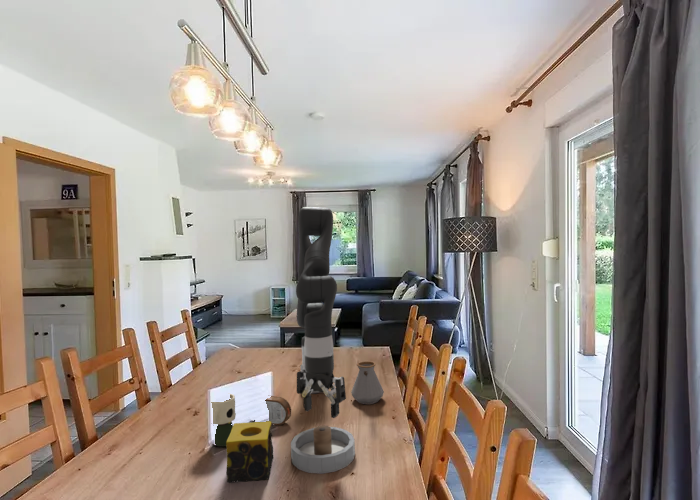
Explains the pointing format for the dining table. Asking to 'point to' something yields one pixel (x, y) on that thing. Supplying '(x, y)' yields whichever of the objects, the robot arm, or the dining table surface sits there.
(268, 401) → the tin
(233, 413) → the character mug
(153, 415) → the dining table surface
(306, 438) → the round tray
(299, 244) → the robot arm
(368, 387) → the coffee pot
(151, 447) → the dining table surface
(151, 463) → the dining table surface
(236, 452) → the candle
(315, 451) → the walnut bead
